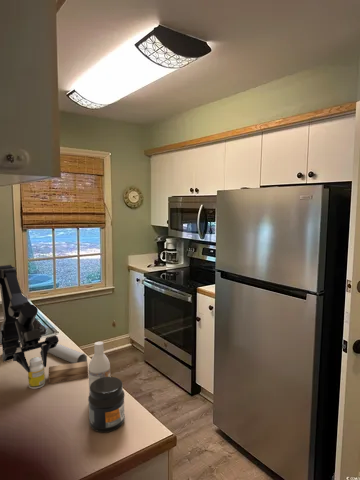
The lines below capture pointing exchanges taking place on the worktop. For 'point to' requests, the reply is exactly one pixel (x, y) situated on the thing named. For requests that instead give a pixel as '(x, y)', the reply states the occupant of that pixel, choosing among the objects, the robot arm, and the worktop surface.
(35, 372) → the supplement bottle
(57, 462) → the worktop surface
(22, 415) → the worktop surface
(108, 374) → the bath foam
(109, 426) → the supplement container
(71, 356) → the tube
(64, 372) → the ridge
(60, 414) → the worktop surface
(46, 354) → the robot arm
